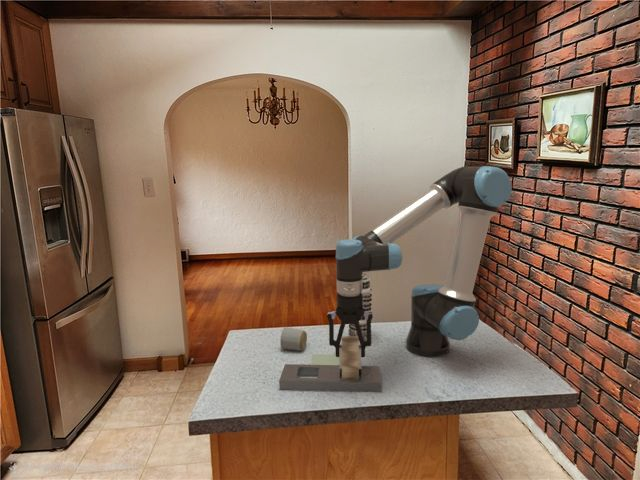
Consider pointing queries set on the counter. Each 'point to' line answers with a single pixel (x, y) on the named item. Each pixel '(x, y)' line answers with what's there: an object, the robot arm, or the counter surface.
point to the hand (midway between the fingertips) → (350, 366)
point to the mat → (324, 359)
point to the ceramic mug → (293, 339)
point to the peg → (350, 357)
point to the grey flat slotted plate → (329, 378)
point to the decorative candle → (366, 308)
